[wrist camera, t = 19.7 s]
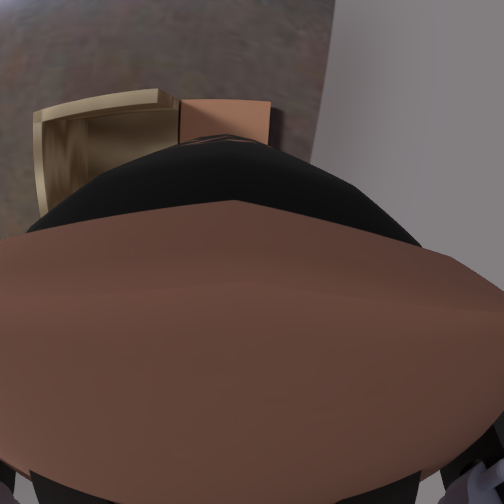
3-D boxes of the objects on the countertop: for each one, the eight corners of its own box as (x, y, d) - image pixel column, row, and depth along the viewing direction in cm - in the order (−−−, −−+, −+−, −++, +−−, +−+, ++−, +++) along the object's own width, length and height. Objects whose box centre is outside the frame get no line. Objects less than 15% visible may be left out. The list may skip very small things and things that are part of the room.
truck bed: (84, 111, 26) (15, 113, 13) (180, 101, 27) (148, 83, 15) (101, 277, 36) (62, 340, 24) (182, 280, 38) (167, 352, 25)
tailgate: (181, 99, 26) (270, 101, 27) (183, 100, 27) (270, 102, 28) (181, 245, 34) (259, 248, 35) (182, 241, 35) (259, 245, 35)
